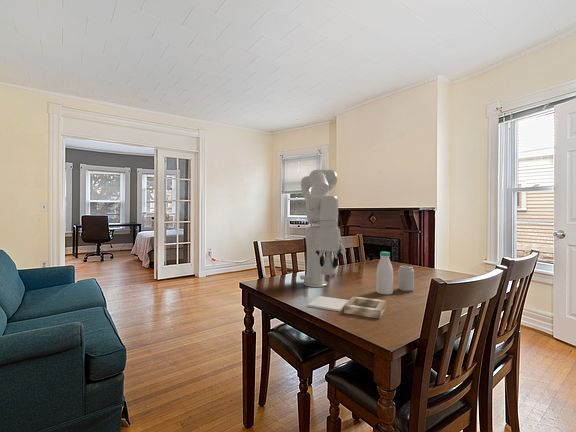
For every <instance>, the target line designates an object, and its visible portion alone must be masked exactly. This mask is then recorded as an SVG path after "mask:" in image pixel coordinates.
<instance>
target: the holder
mask: <svg viewBox="0 0 576 432" xmlns="http://www.w3.org/2000/svg"><path fill="white" fill-rule="evenodd" d="M348 300H349V301H348V302H347V303H346V304H345V305H344V307H343V314H349V315H355V316H361V317H367V318H375V319H380V320H381V318H382V316H383V315H384V312H385V310H386V308H387V300H383V299H378V298H370V297H369V298H368V297H360V296H351V297H350V298H349V299H348Z"/></svg>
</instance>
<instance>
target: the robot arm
mask: <svg viewBox="0 0 576 432" xmlns="http://www.w3.org/2000/svg"><path fill="white" fill-rule="evenodd" d="M300 181H301V182H300V188H301V192H302V195H303V198H304V201H305V209H306V221H307V223H308V224H309V225H310V226H307V227H306V229H305V230H304V231H305V232H304V237H305V244H306V274H305V275H303V274H302V275H299V276H300V277H299V279H300V280H302V281H303V280H304V281H303V285H304V286H306V287H311V288H322V287H326V286H328V281H326V280H325V275H323V274H321V270H322V268H323V265H324V262H325V251H329V252H332V254H333V256H334V257H333V258H332V259H333V267H334V268H335V269H336V268H337V267H338V266H339V258H340V256H342V255H343V254H344V253H345V252H347V250H346V248H345V246H344V245H343V243H342V239H341V238H342V237H341V230H340V227H339V198H338V197H337V196H335V195H327V194H328V193H329V192H330V191H332V190H333V189H334V187H335V186H336V185H337V183H338V174H337V172H336V170H333V169H314V170H312V171H311V172H310V173H309V175H307V176H304V177H302V178H301V180H300Z"/></svg>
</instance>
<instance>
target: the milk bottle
mask: <svg viewBox="0 0 576 432" xmlns="http://www.w3.org/2000/svg"><path fill="white" fill-rule="evenodd" d="M379 256H380V259H379V261H378V263H377V265H376V266H377V267H376V275H375V276H376V277H375V278H376V281H375V282H376V283H375V284H376V288H375V289H376V293H377V294H380V295H392V294H393V293H394V292H393V291H394V270H393V269H394V268H393V265H392V263H391V259H390V257H391V252H390V251H380V253H379Z"/></svg>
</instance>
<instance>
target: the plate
mask: <svg viewBox="0 0 576 432" xmlns="http://www.w3.org/2000/svg"><path fill="white" fill-rule="evenodd" d="M349 300H350V299H343V298H337V297H329V296H324V295H323V296H320V295H318V296H317V297H316V298H314V299H313V300H312V301H310V302H309V303H308V304H307V308H308V307H309V308H315V309H322V310H326V311H327V310H328V311H335V312H341V311H342V310H344V305H345V304H346V303H347V302H348V301H349Z"/></svg>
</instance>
